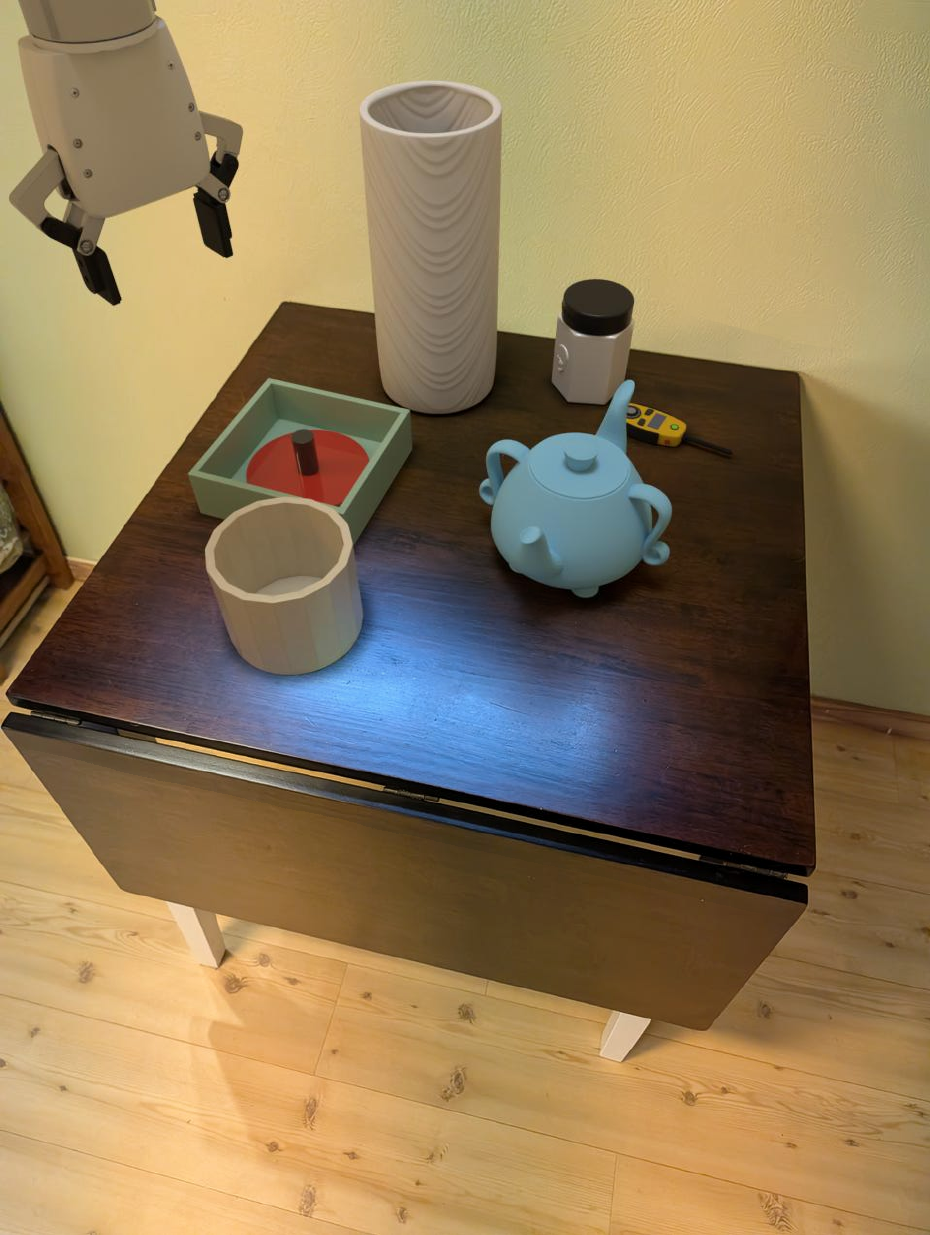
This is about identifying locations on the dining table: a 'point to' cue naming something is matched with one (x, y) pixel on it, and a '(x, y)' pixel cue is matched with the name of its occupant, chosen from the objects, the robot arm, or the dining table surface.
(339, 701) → the dining table surface
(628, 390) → the teapot
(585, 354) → the jar
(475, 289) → the vase
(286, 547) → the pot
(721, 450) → the remote control
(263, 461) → the lid
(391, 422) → the green square tray
